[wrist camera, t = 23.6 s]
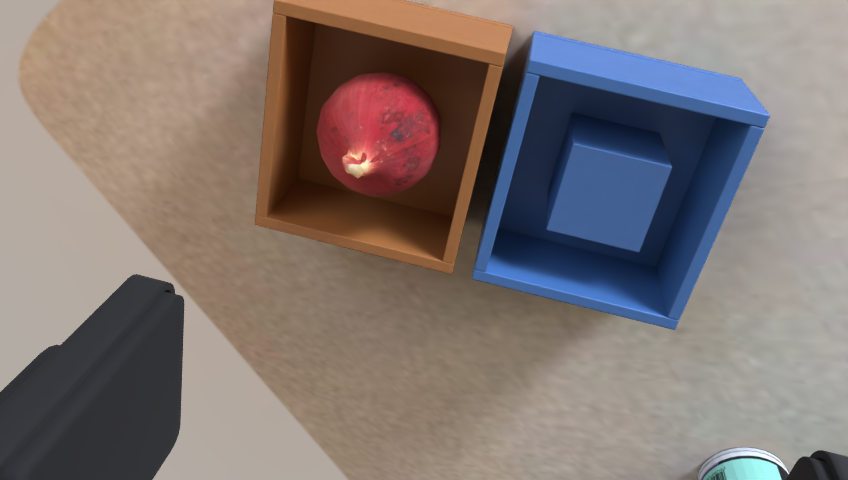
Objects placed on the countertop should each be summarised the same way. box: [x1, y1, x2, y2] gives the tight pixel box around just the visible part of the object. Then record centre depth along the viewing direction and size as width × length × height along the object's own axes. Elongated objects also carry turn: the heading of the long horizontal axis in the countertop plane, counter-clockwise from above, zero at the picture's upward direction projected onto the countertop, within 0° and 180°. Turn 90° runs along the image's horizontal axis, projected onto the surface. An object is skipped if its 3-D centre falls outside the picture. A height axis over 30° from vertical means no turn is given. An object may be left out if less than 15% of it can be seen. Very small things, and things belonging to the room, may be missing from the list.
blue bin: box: [472, 31, 770, 330], centre depth 36 cm, size 11×10×6 cm
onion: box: [317, 72, 441, 196], centre depth 35 cm, size 6×6×8 cm
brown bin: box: [255, 0, 513, 274], centre depth 36 cm, size 11×10×6 cm
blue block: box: [546, 113, 672, 252], centre depth 36 cm, size 4×4×4 cm
